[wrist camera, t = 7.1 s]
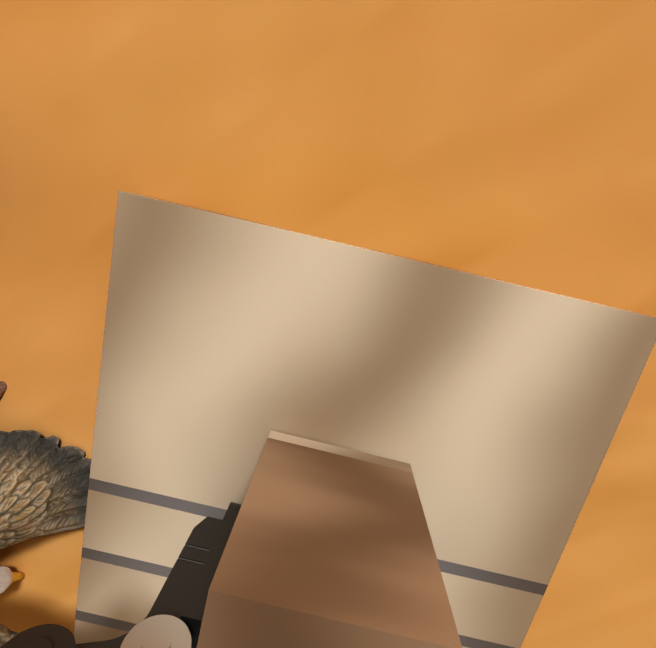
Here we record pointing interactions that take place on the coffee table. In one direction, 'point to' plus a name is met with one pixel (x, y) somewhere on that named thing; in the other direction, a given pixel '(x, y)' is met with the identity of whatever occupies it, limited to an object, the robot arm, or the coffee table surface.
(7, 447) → the eagle figurine
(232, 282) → the birch board
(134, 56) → the coffee table surface
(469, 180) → the coffee table surface
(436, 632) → the block
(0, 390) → the lashed bone hook
